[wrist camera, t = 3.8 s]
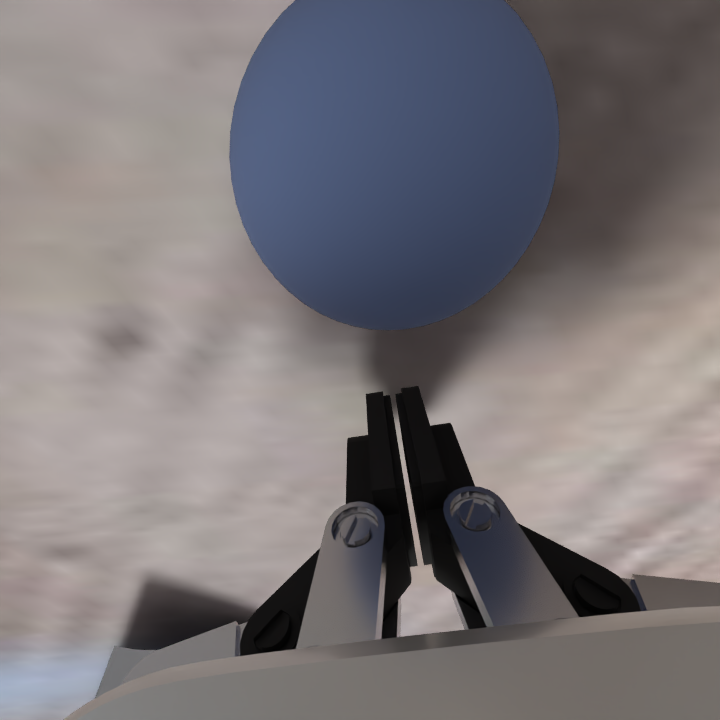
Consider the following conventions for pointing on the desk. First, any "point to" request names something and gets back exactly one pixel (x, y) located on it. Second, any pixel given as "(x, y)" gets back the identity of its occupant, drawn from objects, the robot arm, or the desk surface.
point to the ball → (394, 154)
